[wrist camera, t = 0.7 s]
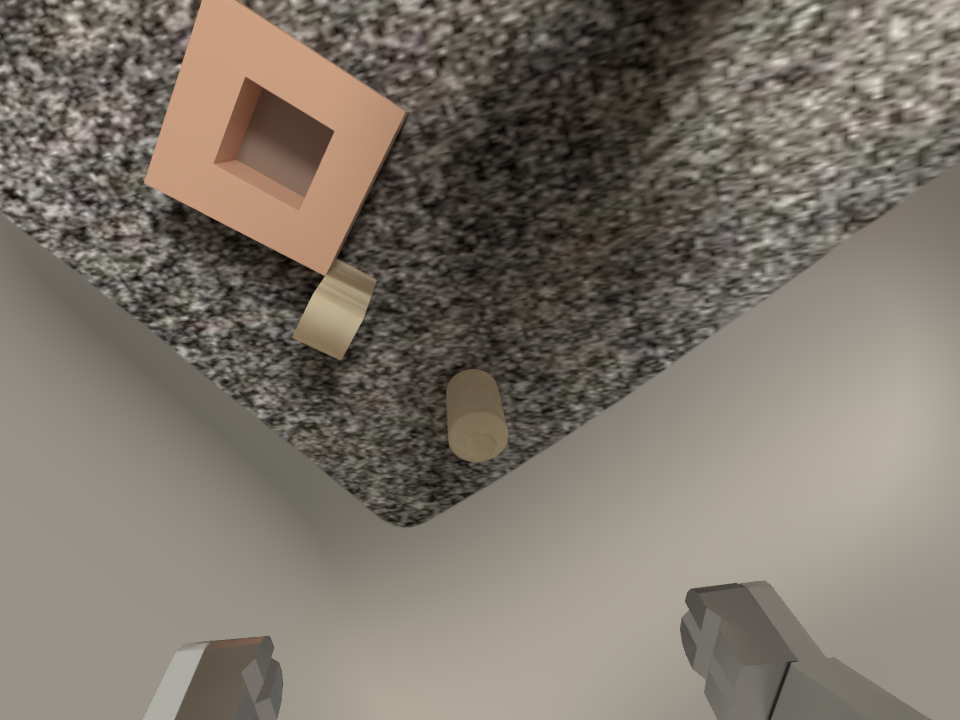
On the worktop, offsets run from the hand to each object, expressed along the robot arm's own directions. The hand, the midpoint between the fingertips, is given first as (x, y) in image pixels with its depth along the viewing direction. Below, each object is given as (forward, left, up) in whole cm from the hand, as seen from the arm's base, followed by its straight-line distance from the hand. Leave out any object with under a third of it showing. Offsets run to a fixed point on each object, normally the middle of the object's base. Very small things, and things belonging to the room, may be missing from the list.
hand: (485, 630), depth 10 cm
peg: (+9, -5, -39) cm, 41 cm away
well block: (0, -14, -39) cm, 42 cm away
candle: (+13, +11, -39) cm, 43 cm away
